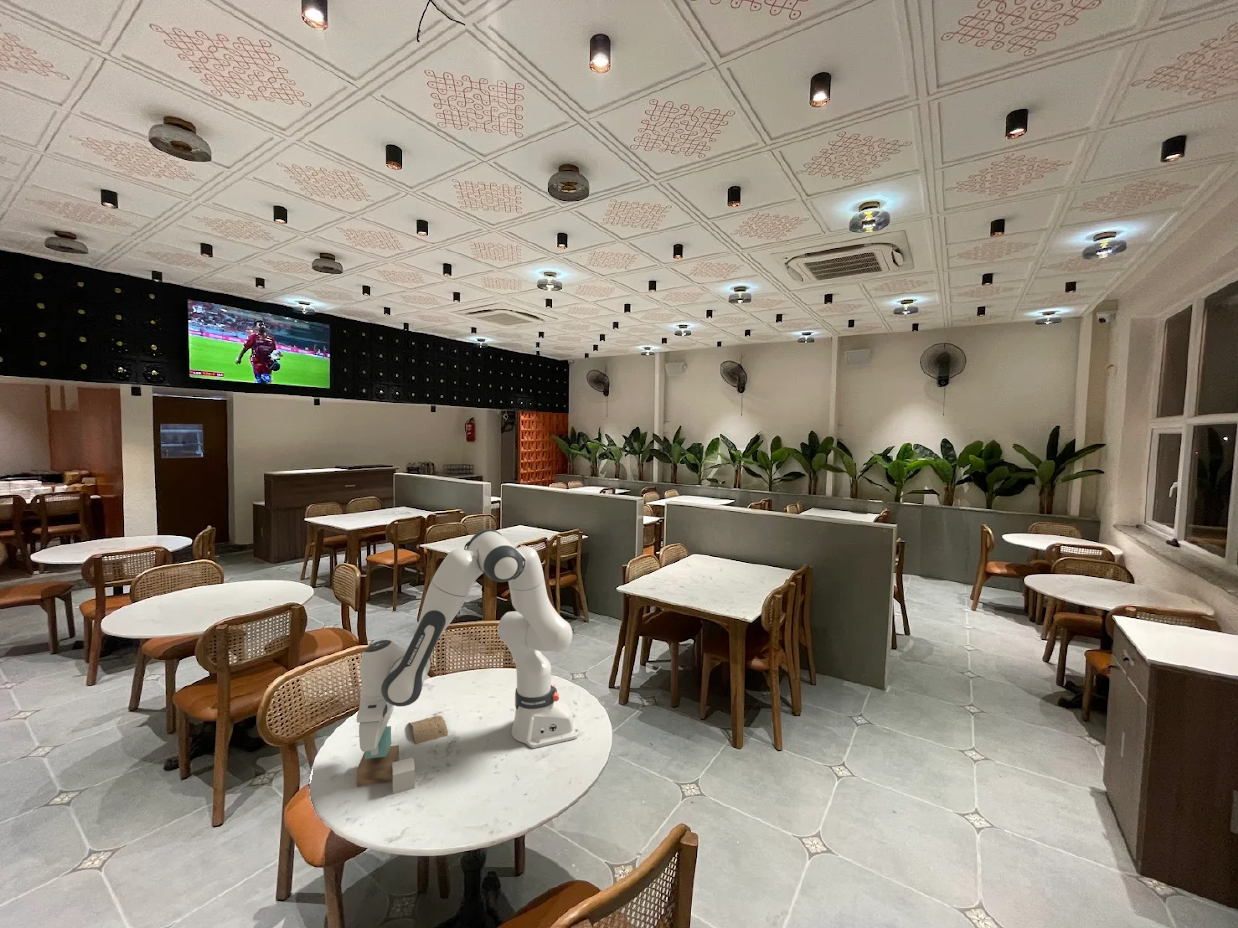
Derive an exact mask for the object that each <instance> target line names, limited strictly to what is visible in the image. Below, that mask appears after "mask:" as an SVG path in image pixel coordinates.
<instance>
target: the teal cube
mask: <svg viewBox="0 0 1238 928" xmlns="http://www.w3.org/2000/svg"><path fill="white" fill-rule="evenodd" d="M378 745H379V752H378V754H377V755H371V751H365V759H368V758H377V757H386V756H387V753H388V751H389V749H390V746H392V726H391V725H389V726H388V725H387V727H385V730H384V732H383V734H382V736H381V739H380V741H379V743H378Z"/></svg>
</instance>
